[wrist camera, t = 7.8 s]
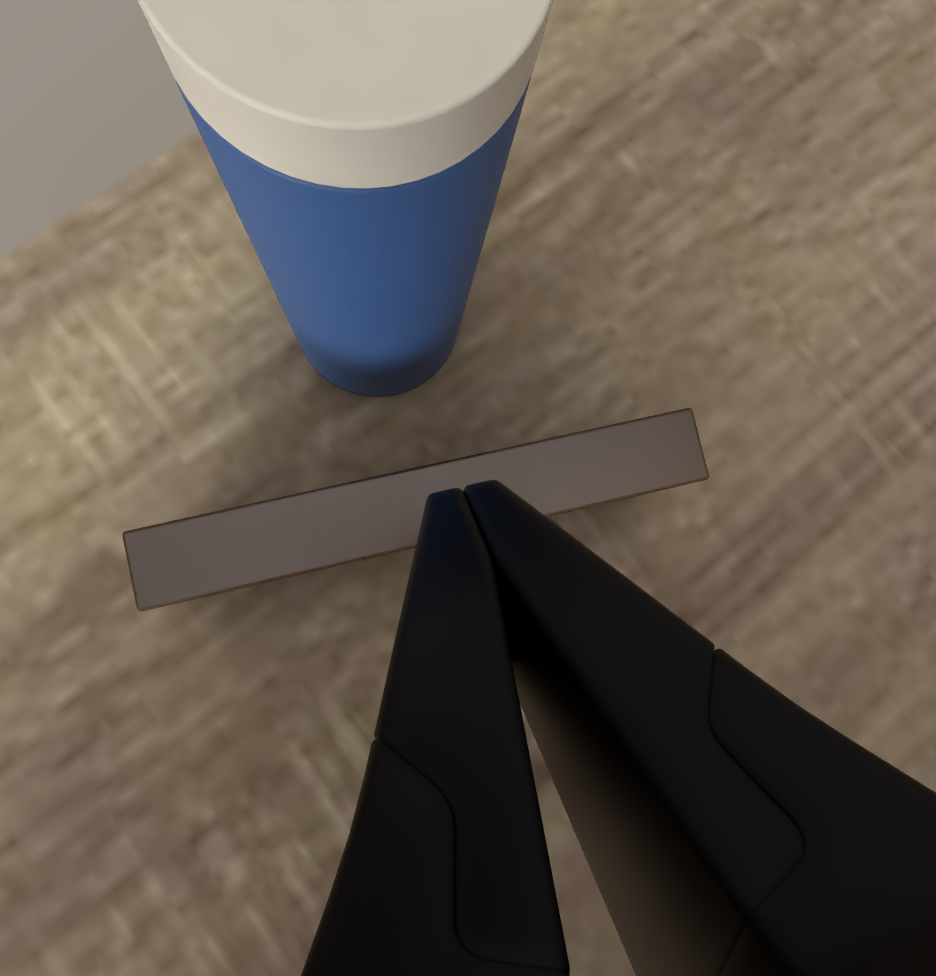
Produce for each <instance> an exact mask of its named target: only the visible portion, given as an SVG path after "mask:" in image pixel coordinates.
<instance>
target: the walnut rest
mask: <svg viewBox="0 0 936 976" xmlns="http://www.w3.org/2000/svg"><path fill="white" fill-rule="evenodd" d="M708 478H709V474H708V470H707V466H706V463H705V459H704V455H703V451H702V447H701V443H700V439H699V435H698V431H697V427H696V423H695V419H694V415H693V411H692V409H691V408H686V409H681V410H677V411H672V412H667V413H663V414H658V415H654V416H649V417H645V418H640V419H636V420H631V421H626V422H622V423H617V424H613V425H608V426H604V427H599V428H594V429H590V430H585V431H581V432H576V433H572V434H567V435H562V436H558V437H553V438H549V439H544V440H540V441H535V442H530V443H526V444H521V445H517V446H512V447H508V448H503V449H499V450H494V451H489V452H485V453H480V454H476V455H471V456H467V457H462V458H457V459H453V460H448V461H444V462H439V463H435V464H430V465H425V466H421V467H416V468H412V469H407V470H403V471H398V472H393V473H389V474H384V475H380V476H375V477H371V478H366V479H362V480H357V481H352V482H348V483H343V484H339V485H334V486H330V487H325V488H320V489H316V490H311V491H307V492H302V493H298V494H293V495H288V496H284V497H279V498H275V499H270V500H266V501H261V502H256V503H252V504H247V505H243V506H238V507H234V508H229V509H225V510H220V511H215V512H211V513H206V514H202V515H197V516H193V517H188V518H183V519H179V520H174V521H170V522H165V523H161V524H156V525H151V526H147V527H142V528H138V529H133V530H129V531H125V532H123V535H122V536H123V541H124V546H125V551H126V555H127V560H128V565H129V570H130V575H131V580H132V585H133V590H134V595H135V600H136V605H137V609H138V611H146V610H150V609H154V608H158V607H163V606H167V605H171V604H176V603H180V602H184V601H188V600H193V599H197V598H201V597H206V596H210V595H214V594H218V593H223V592H227V591H231V590H236V589H240V588H244V587H248V586H253V585H257V584H261V583H266V582H270V581H274V580H279V579H283V578H287V577H291V576H296V575H300V574H304V573H309V572H313V571H317V570H321V569H326V568H330V567H334V566H339V565H343V564H347V563H351V562H356V561H360V560H364V559H369V558H373V557H377V556H381V555H386V554H390V553H394V552H399V551H403V550H407V549H411V548H416V544H417V539H418V535H419V530H420V526H421V521H422V517H423V512H424V508H425V503H426V499H427V497H428V496H429V495H430V494H431V493H435V492H439V491H443V490H448V489H452V488H460V489H461V490H462V491H463V490H464V488H465V487H466V486H467V485H470V484H475V483H479V482H483V481H488V480H498V481H500V482H501V483H503V484H504V485H505V486H507V487H508V488H509V489H510V490H512V491H513V492H514V493H516V494H517V495H518V496H520V497H521V498H522V499H524V500H525V501H526V502H528V503H529V504H530V505H532V506H533V507H534V508H536V509H537V510H538V511H539V512H541V513H542V514H543V515H545V516H546V517H549V516H553V515H557V514H562V513H566V512H570V511H574V510H579V509H583V508H587V507H592V506H596V505H600V504H604V503H609V502H613V501H617V500H622V499H626V498H630V497H634V496H639V495H643V494H647V493H652V492H656V491H660V490H664V489H669V488H673V487H677V486H682V485H686V484H690V483H694V482H699V481H703V480H707V479H708Z"/></svg>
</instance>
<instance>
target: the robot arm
mask: <svg viewBox="0 0 936 976" xmlns="http://www.w3.org/2000/svg"><path fill="white" fill-rule="evenodd" d="M714 649H715V646H714V644H713V643H712V642H711V641H710V640H708V639H707V638H706V637H704V636H703V635H702V634H700V633H699V632H698V631H696V630H695V629H694V628H692V627H691V626H690V625H689V624H687V623H686V622H685V621H683V620H682V619H681V618H679V617H678V616H677V615H675V614H674V613H673V612H671V611H670V610H669V609H667V608H666V607H665V606H663V605H662V604H661V603H659V602H658V601H657V600H656V599H654V598H653V597H652V596H650V595H649V594H648V593H646V592H645V591H644V590H642V589H641V588H640V587H638V586H637V585H636V584H634V583H633V582H632V581H630V580H629V579H628V578H627V577H625V576H624V575H623V574H621V573H620V572H619V571H617V570H616V569H615V568H613V567H612V566H611V565H609V564H608V563H607V562H605V561H604V560H603V559H601V558H600V557H599V556H598V555H596V554H595V553H594V552H592V551H591V550H590V549H588V548H587V547H586V546H584V545H583V544H582V543H580V542H579V541H578V540H576V539H575V538H574V537H572V536H571V535H570V534H568V533H567V532H566V531H565V530H563V529H562V528H561V527H559V526H558V525H557V524H555V523H554V522H553V521H551V520H550V519H549V518H547V517H546V516H545V515H543V514H542V513H541V512H539V511H538V510H537V509H536V508H534V507H533V506H532V505H530V504H529V503H528V502H526V501H525V500H524V499H522V498H521V497H520V496H518V495H517V494H516V493H514V492H513V491H512V490H510V489H509V488H508V487H507V486H505V485H504V484H503V483H501V482H500V481H498V480H488V481H483V482H479V483H475V484H470V485H467V486H466V487H465V488H464V490H463V491H462V490H461V489H460V488H452V489H448V490H443V491H439V492H435V493H431V494H430V495H429V496H428V497H427V499H426V503H425V508H424V512H423V517H422V521H421V526H420V530H419V535H418V539H417V544H416V548H415V553H414V557H413V562H412V566H411V571H410V575H409V580H408V584H407V589H406V593H405V598H404V602H403V607H402V611H401V616H400V620H399V625H398V629H397V634H396V638H395V643H394V647H393V652H392V656H391V661H390V665H389V670H388V674H387V679H386V683H385V688H384V692H383V697H382V701H381V706H380V710H379V715H378V719H377V724H376V728H375V733H374V736H375V739H376V740H374V741H373V742H372V744H371V749H370V753H369V758H368V762H367V766H366V771H365V775H364V780H363V783H362V787H361V791H360V795H359V799H358V803H357V807H356V810H355V814H354V818H353V822H352V826H351V830H350V833H349V837H348V840H347V843H346V846H345V849H344V852H343V855H342V858H341V861H340V865H339V868H338V871H337V874H336V877H335V880H334V883H333V886H332V889H331V892H330V896H329V898H328V901H327V904H326V907H325V910H324V912H323V915H322V918H321V921H320V924H319V927H318V929H317V932H316V935H315V938H314V941H313V943H312V946H311V949H310V952H309V955H308V957H307V960H306V963H305V966H304V969H303V971H302V974H301V976H569V973H570V966H569V961H568V956H567V950H566V945H565V940H564V934H563V929H562V924H561V919H560V913H559V908H558V903H557V898H556V892H555V887H554V882H553V876H552V871H551V866H550V861H549V855H548V850H547V845H546V840H545V834H544V829H543V824H542V818H541V813H540V808H539V803H538V797H537V792H536V787H535V781H534V776H533V771H532V766H531V760H530V755H529V750H528V745H527V739H526V734H525V729H524V723H523V718H522V713H521V708H520V704H521V707H522V709H523V711H524V714H525V716H526V718H527V721H528V723H529V725H530V728H531V730H532V732H533V735H534V737H535V740H536V742H537V744H538V747H539V749H540V751H541V754H542V756H543V758H544V761H545V763H546V765H547V768H548V770H549V772H550V775H551V777H552V779H553V782H554V784H555V786H556V789H557V791H558V794H559V796H560V798H561V801H562V803H563V805H564V808H565V810H566V812H567V815H568V817H569V819H570V822H571V824H572V826H573V829H574V831H575V833H576V836H577V838H578V840H579V843H580V845H581V848H582V850H583V852H584V855H585V857H586V859H587V862H588V864H589V866H590V869H591V871H592V873H593V876H594V878H595V880H596V883H597V885H598V887H599V890H600V892H601V894H602V897H603V899H604V902H605V904H606V906H607V909H608V911H609V913H610V916H611V918H612V920H613V923H614V925H615V927H616V930H617V932H618V934H619V937H620V939H621V941H622V944H623V946H624V948H625V951H626V953H627V956H628V958H629V960H630V963H631V965H632V967H633V970H634V972H635V974H636V976H936V793H935V792H934V791H932V790H931V789H929V788H927V787H926V786H924V785H923V784H921V783H919V782H918V781H916V780H914V779H913V778H911V777H910V776H908V775H906V774H905V773H903V772H902V771H900V770H898V769H897V768H895V767H894V766H892V765H890V764H889V763H887V762H886V761H884V760H882V759H881V758H879V757H877V756H876V755H874V754H873V753H871V752H869V751H868V750H866V749H865V748H863V747H861V746H860V745H858V744H857V743H855V742H853V741H852V740H850V739H849V738H847V737H846V736H844V735H843V734H841V733H840V732H838V731H837V730H835V729H834V728H832V727H830V726H829V725H827V724H826V723H824V722H823V721H821V720H820V719H818V718H817V717H815V716H814V715H812V714H810V713H809V712H807V711H806V710H804V709H803V708H801V707H800V706H798V705H797V704H795V703H794V702H793V701H791V700H790V699H788V698H787V697H786V696H784V695H783V694H782V693H780V692H779V691H777V690H776V689H775V688H773V687H772V686H770V685H769V684H768V683H766V682H765V681H763V680H762V679H761V678H759V677H758V676H756V675H755V674H754V673H752V672H751V671H750V670H748V669H747V668H746V667H744V666H743V665H742V664H740V663H739V662H738V661H736V660H735V659H734V658H732V657H731V656H730V655H728V654H727V653H726V652H725V651H723V650H722V649H716V650H715V651H714Z"/></svg>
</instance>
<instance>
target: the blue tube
mask: <svg viewBox="0 0 936 976" xmlns="http://www.w3.org/2000/svg"><path fill="white" fill-rule="evenodd" d="M138 2H139V4H140V6H141V8H142V10H143V13H144V15H145V17H146V19H147V21H148V23H149V25H150V28H151V30H152V32H153V34H154V36H155V38H156V40H157V42H158V45H159V47H160V49H161V51H162V53H163V55H164V57H165V59H166V62H167V64H168V66H169V68H170V70H171V72H172V74H173V76H174V78H175V80H176V82H177V85H178V87H179V89H180V91H181V93H182V96H183V98H184V100H185V102H186V104H187V106H188V108H189V110H190V113H191V115H192V117H193V119H194V121H195V123H196V125H197V127H198V130H199V132H200V134H201V136H202V138H203V140H204V142H205V144H206V147H207V149H208V151H209V153H210V155H211V157H212V159H213V161H214V164H215V166H216V168H217V170H218V172H219V174H220V176H221V178H222V181H223V183H224V185H225V187H226V189H227V191H228V193H229V195H230V198H231V200H232V202H233V204H234V206H235V208H236V210H237V212H238V215H239V217H240V219H241V221H242V223H243V225H244V227H245V229H246V232H247V234H248V236H249V238H250V240H251V242H252V244H253V246H254V249H255V251H256V253H257V255H258V257H259V259H260V261H261V263H262V265H263V268H264V270H265V272H266V274H267V276H268V278H269V280H270V282H271V285H272V287H273V289H274V291H275V293H276V295H277V297H278V299H279V302H280V304H281V306H282V308H283V310H284V312H285V314H286V316H287V319H288V321H289V323H290V325H291V327H292V329H293V331H294V333H295V336H296V338H297V340H298V342H299V344H300V346H301V348H302V350H303V352H304V354H305V356H306V357H307V359H308V360H309V362H310V363H311V364H312V365H313V367H314V368H315V369H316V370H317V371H318V372H319V373H320V374H321V375H322V376H323V377H325V378H326V379H327V380H329V381H330V382H331V383H333V384H335V385H337V386H339V387H340V388H343V389H345V390H347V391H350V392H353V393H357V394H361V395H367V396H389V395H395V394H399V393H403V392H406V391H409V390H411V389H414V388H416V387H417V386H419V385H421V384H423V383H424V382H425V381H427V380H428V379H429V378H431V377H432V376H433V375H434V374H435V373H436V372H437V371H438V370H439V369H440V368H441V366H442V365H443V364H444V363H445V361H446V360H447V358H448V356H449V354H450V353H451V350H452V348H453V345H454V343H455V340H456V336H457V333H458V329H459V326H460V322H461V319H462V315H463V312H464V308H465V305H466V301H467V298H468V294H469V291H470V287H471V284H472V280H473V277H474V274H475V270H476V267H477V263H478V260H479V256H480V253H481V249H482V246H483V242H484V239H485V235H486V232H487V228H488V225H489V221H490V218H491V214H492V211H493V207H494V204H495V200H496V197H497V193H498V190H499V186H500V183H501V179H502V176H503V173H504V169H505V166H506V162H507V159H508V155H509V152H510V148H511V145H512V141H513V138H514V134H515V131H516V127H517V124H518V120H519V117H520V113H521V110H522V106H523V103H524V99H525V96H526V92H527V89H528V85H529V82H530V78H531V74H532V72H533V68H534V65H535V61H536V58H537V54H538V51H539V47H540V44H541V40H542V37H543V33H544V30H545V26H546V23H547V19H548V16H549V12H550V9H551V5H552V2H553V0H138Z"/></svg>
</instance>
